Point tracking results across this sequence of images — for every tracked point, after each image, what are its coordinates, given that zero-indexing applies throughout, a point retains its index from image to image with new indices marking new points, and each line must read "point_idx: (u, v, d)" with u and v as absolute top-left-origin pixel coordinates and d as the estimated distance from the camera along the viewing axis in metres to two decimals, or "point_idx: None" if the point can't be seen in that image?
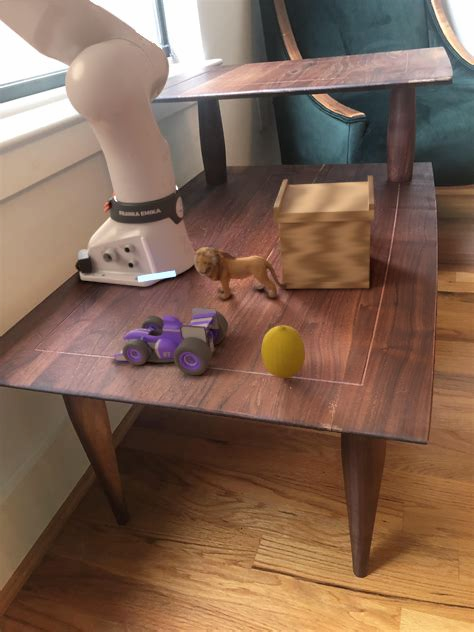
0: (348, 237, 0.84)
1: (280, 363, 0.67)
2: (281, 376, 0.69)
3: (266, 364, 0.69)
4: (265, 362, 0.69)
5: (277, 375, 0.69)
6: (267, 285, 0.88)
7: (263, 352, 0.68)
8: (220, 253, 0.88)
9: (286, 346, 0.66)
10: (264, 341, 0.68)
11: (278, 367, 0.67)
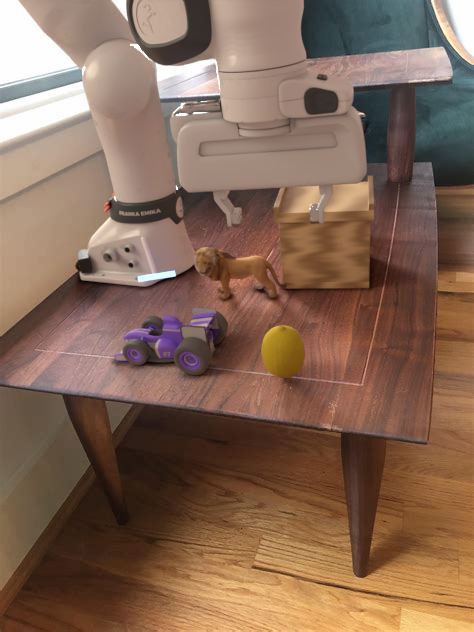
0: (348, 237, 0.84)
1: (280, 363, 0.67)
2: (281, 376, 0.69)
3: (266, 364, 0.69)
4: (265, 362, 0.69)
5: (277, 375, 0.69)
6: (267, 285, 0.88)
7: (263, 352, 0.68)
8: (220, 253, 0.88)
9: (286, 346, 0.66)
10: (264, 341, 0.68)
11: (278, 367, 0.67)
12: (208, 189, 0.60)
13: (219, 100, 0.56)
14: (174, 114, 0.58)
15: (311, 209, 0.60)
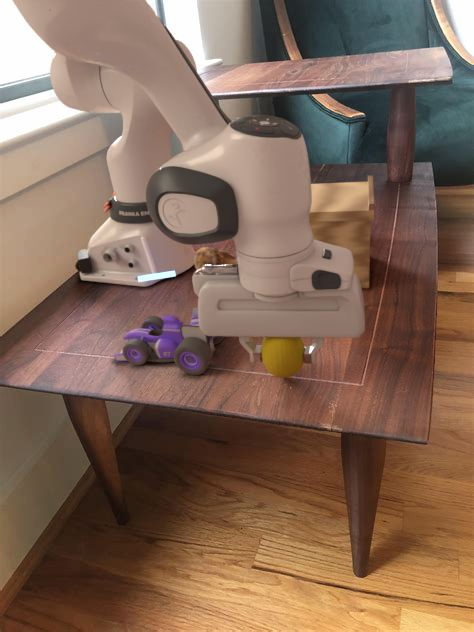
0: (348, 237, 0.84)
1: (280, 363, 0.67)
2: (281, 376, 0.69)
3: (266, 364, 0.69)
4: (265, 362, 0.69)
5: (277, 375, 0.69)
6: None
7: (263, 352, 0.68)
8: (220, 253, 0.88)
9: (285, 346, 0.66)
10: (264, 341, 0.68)
11: (278, 366, 0.67)
12: (225, 335, 0.67)
13: (236, 265, 0.64)
14: (196, 273, 0.65)
15: (305, 352, 0.68)
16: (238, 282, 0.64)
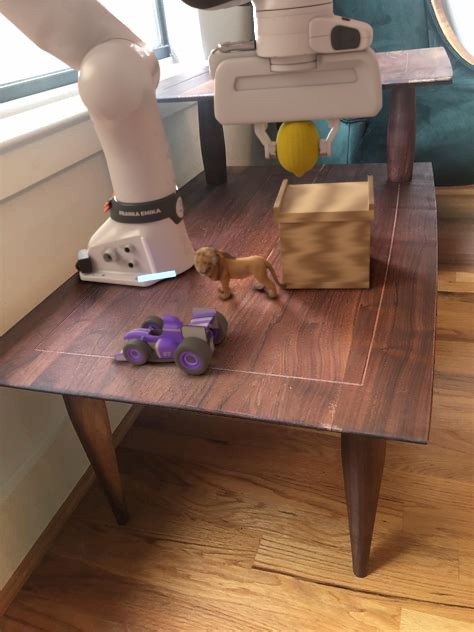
0: (348, 237, 0.84)
1: (295, 149, 0.67)
2: (296, 168, 0.68)
3: (281, 155, 0.68)
4: (280, 153, 0.68)
5: (292, 167, 0.68)
6: (267, 285, 0.88)
7: (278, 142, 0.68)
8: (220, 253, 0.88)
9: (301, 130, 0.66)
10: (279, 130, 0.68)
11: (293, 154, 0.67)
12: (240, 122, 0.67)
13: (254, 39, 0.63)
14: (212, 52, 0.65)
15: (320, 142, 0.68)
16: (255, 56, 0.63)
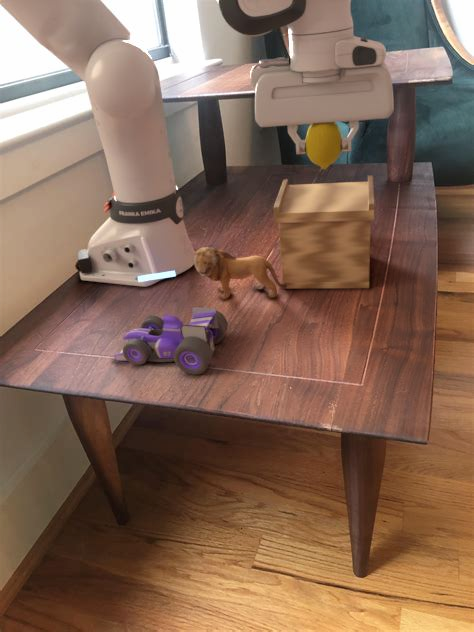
0: (348, 237, 0.84)
1: (322, 146, 0.81)
2: (322, 161, 0.83)
3: (310, 151, 0.83)
4: (309, 149, 0.83)
5: (319, 160, 0.83)
6: (267, 285, 0.88)
7: (307, 140, 0.82)
8: (220, 253, 0.88)
9: (327, 130, 0.80)
10: (308, 130, 0.82)
11: (320, 150, 0.81)
12: (276, 124, 0.82)
13: (288, 57, 0.78)
14: (254, 68, 0.79)
15: (342, 140, 0.82)
16: (290, 71, 0.78)
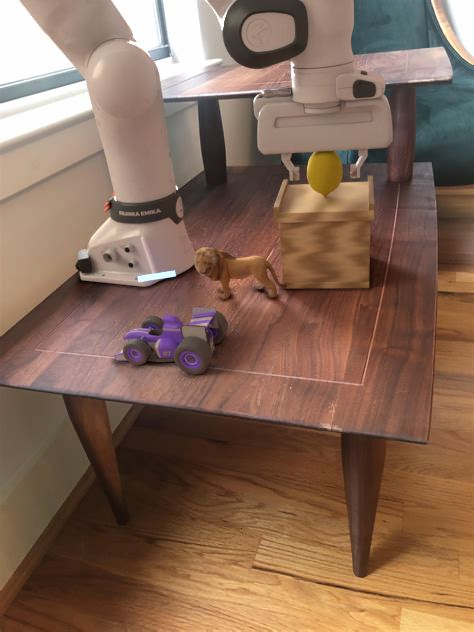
0: (348, 237, 0.84)
1: (323, 175, 0.83)
2: (323, 190, 0.85)
3: (311, 179, 0.85)
4: (310, 178, 0.85)
5: (320, 189, 0.85)
6: (267, 285, 0.88)
7: (309, 169, 0.85)
8: (220, 253, 0.88)
9: (328, 160, 0.83)
10: (310, 160, 0.84)
11: (321, 179, 0.84)
12: (278, 152, 0.84)
13: (290, 88, 0.80)
14: (257, 97, 0.81)
15: (351, 167, 0.84)
16: (291, 101, 0.80)
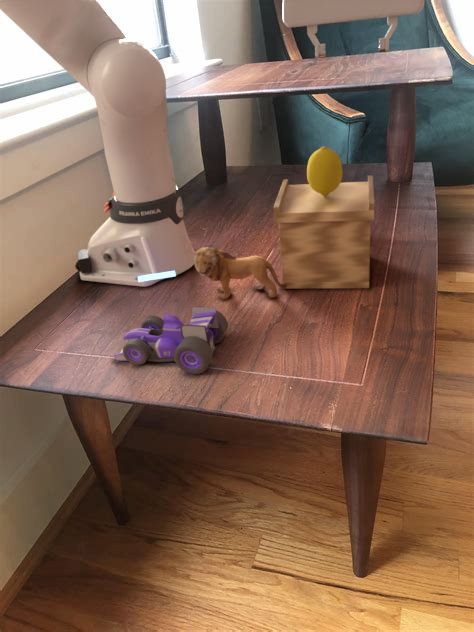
0: (348, 237, 0.84)
1: (323, 175, 0.83)
2: (323, 190, 0.85)
3: (311, 179, 0.85)
4: (310, 178, 0.85)
5: (320, 189, 0.85)
6: (267, 285, 0.88)
7: (309, 169, 0.85)
8: (220, 253, 0.88)
9: (328, 160, 0.83)
10: (310, 160, 0.84)
11: (321, 179, 0.84)
12: (304, 23, 0.81)
13: None
14: None
15: (380, 39, 0.81)
16: None
